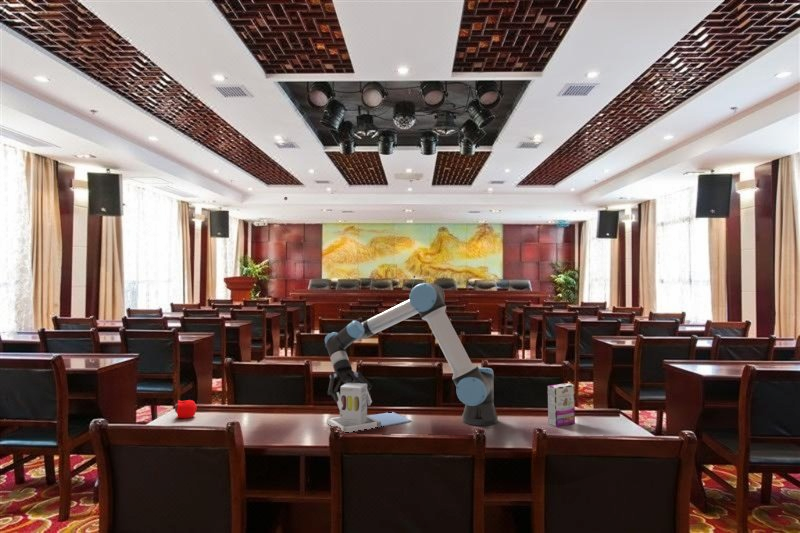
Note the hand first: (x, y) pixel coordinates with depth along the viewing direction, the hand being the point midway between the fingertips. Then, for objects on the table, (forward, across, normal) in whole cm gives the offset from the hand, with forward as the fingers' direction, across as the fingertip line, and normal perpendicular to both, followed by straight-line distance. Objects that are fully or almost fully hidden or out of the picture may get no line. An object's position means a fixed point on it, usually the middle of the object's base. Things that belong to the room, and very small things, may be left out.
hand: (356, 405), depth 198 cm
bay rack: (+4, -8, -8) cm, 12 cm away
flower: (-29, +58, -42) cm, 77 cm away
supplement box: (+5, 0, -8) cm, 9 cm away
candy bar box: (+35, -77, +22) cm, 88 cm away
